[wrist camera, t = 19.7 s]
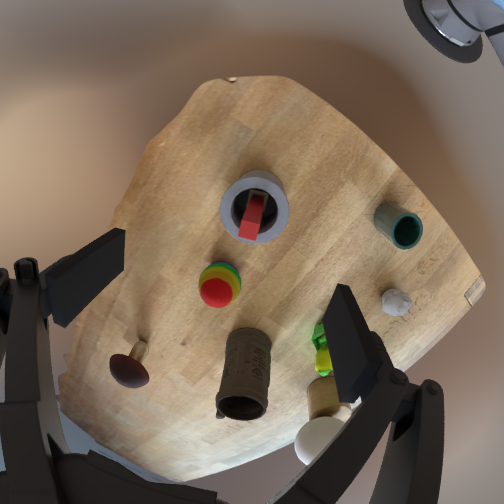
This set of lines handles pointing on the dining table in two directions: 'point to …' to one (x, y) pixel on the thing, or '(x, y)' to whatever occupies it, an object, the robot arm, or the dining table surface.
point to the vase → (271, 217)
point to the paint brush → (253, 214)
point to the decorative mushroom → (130, 366)
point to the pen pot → (398, 225)
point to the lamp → (321, 419)
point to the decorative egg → (219, 284)
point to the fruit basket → (321, 351)
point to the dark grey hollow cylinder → (245, 376)
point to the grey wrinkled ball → (396, 302)
